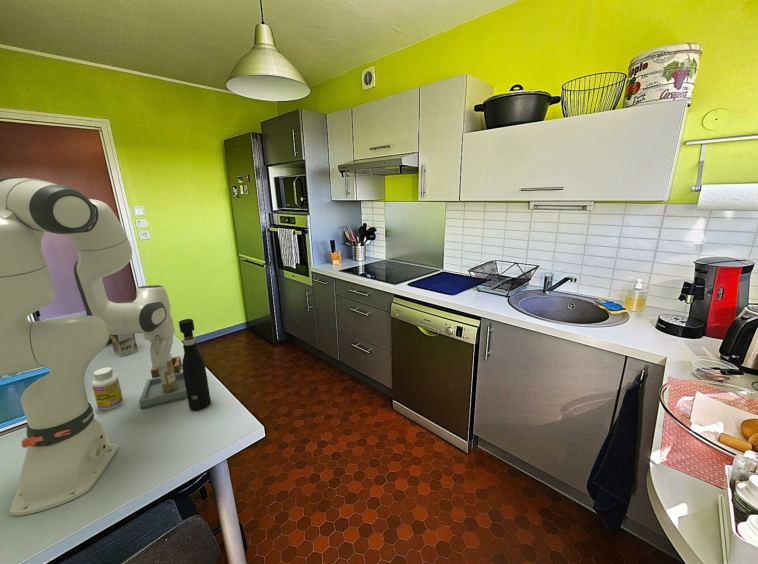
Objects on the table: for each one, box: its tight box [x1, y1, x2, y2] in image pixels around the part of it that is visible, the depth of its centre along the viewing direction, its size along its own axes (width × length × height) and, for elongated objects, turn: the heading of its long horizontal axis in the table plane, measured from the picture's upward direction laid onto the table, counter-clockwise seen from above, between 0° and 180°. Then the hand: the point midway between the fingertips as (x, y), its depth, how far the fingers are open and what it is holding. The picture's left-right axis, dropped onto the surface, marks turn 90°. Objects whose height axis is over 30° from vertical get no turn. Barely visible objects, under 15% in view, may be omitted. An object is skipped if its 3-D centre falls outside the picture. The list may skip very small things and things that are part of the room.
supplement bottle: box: [91, 366, 124, 411], centre depth 107 cm, size 7×7×13 cm
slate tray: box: [138, 371, 188, 410], centre depth 115 cm, size 15×15×3 cm
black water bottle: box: [178, 318, 212, 412], centre depth 104 cm, size 6×6×30 cm
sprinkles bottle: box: [159, 352, 177, 392], centre depth 114 cm, size 5×5×14 cm
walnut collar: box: [150, 355, 183, 379], centre depth 128 cm, size 9×9×4 cm
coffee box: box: [110, 334, 139, 357], centre depth 145 cm, size 9×6×16 cm
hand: (166, 367), depth 113 cm, fingers open, 4 cm apart
